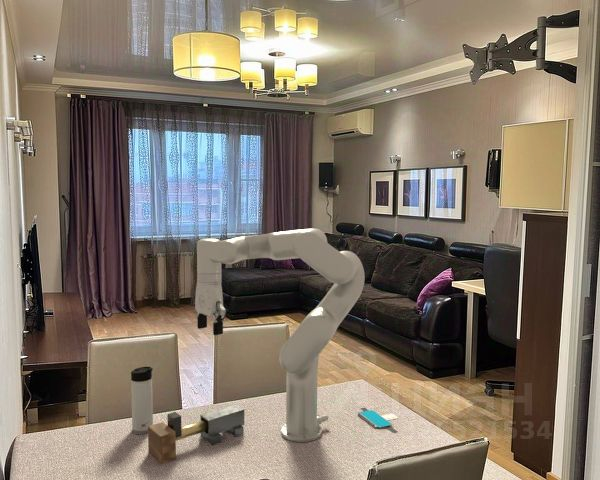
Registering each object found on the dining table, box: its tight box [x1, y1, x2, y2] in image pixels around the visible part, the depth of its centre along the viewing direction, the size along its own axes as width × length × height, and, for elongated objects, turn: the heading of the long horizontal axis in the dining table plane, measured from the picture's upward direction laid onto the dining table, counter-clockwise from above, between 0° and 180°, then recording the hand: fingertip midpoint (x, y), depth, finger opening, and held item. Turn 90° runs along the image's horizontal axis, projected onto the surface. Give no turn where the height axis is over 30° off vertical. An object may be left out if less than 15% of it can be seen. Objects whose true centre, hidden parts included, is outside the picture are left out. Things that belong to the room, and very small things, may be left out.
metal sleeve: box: [200, 403, 245, 446], centre depth 163 cm, size 12×7×8 cm, turn 130°
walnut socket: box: [147, 421, 177, 465], centre depth 150 cm, size 4×8×8 cm, turn 40°
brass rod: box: [166, 411, 208, 442], centre depth 155 cm, size 18×4×8 cm, turn 130°
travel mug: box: [130, 366, 154, 435], centre depth 166 cm, size 6×7×20 cm
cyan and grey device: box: [357, 407, 399, 433], centre depth 176 cm, size 20×12×2 cm, turn 24°
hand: (210, 331), depth 169 cm, fingers open, 9 cm apart
